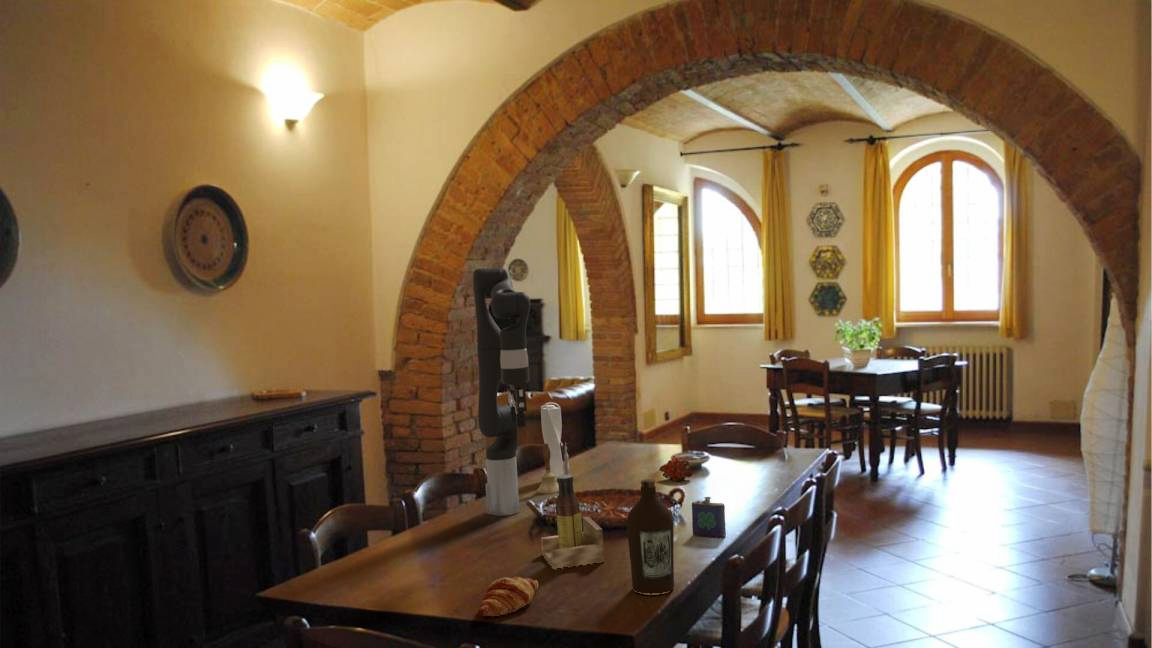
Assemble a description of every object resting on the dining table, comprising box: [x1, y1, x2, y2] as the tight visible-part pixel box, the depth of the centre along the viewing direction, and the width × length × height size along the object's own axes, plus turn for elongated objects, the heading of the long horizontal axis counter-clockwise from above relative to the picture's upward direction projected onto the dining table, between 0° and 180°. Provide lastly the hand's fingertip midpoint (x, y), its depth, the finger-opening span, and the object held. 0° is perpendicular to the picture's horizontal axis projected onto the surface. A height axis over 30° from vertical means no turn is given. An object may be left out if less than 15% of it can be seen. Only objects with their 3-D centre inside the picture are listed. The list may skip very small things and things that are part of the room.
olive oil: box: [626, 478, 675, 594], centre depth 209 cm, size 11×11×25 cm
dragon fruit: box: [658, 456, 694, 482], centre depth 315 cm, size 8×8×12 cm
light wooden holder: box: [540, 516, 605, 570], centre depth 235 cm, size 13×13×8 cm
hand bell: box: [536, 443, 559, 495], centre depth 310 cm, size 8×8×16 cm
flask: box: [691, 496, 727, 539], centre depth 248 cm, size 9×3×11 cm, turn 63°
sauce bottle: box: [555, 474, 583, 549], centre depth 235 cm, size 6×6×20 cm
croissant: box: [478, 576, 539, 617], centre depth 205 cm, size 21×10×8 cm, turn 150°
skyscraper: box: [540, 401, 571, 481], centre depth 325 cm, size 8×8×28 cm
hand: (518, 424), depth 252 cm, fingers open, 8 cm apart
